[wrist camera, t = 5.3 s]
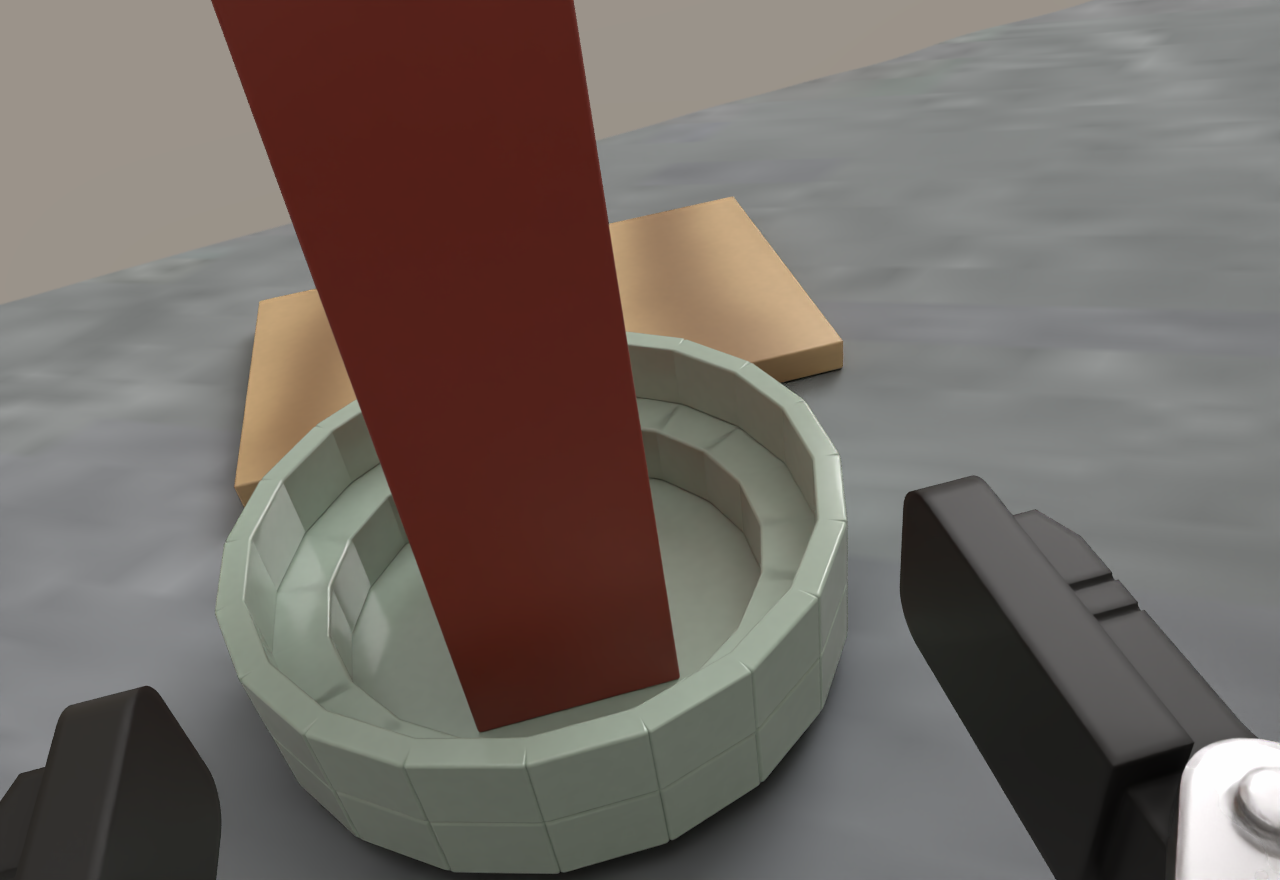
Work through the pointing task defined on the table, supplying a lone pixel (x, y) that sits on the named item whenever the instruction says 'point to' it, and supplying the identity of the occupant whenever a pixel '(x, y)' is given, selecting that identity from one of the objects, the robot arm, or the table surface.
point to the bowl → (576, 737)
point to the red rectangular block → (475, 323)
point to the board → (651, 303)
